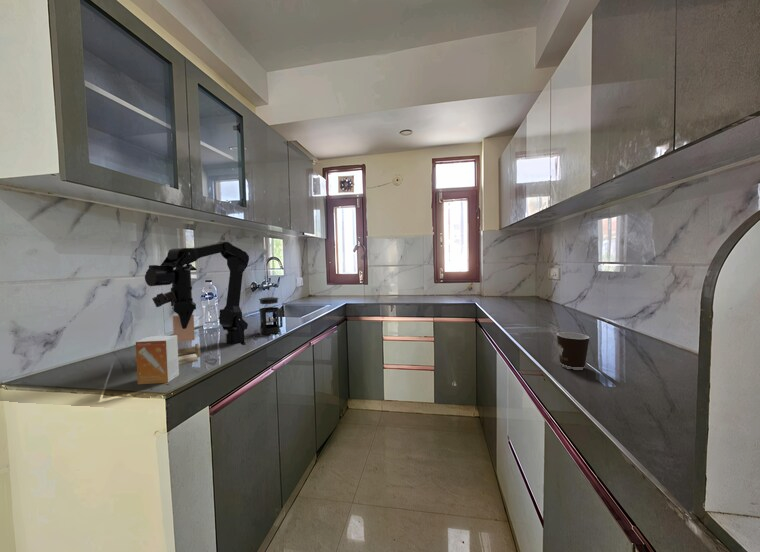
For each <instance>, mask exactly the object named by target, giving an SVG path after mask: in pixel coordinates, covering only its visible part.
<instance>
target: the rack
mask: <svg viewBox="0 0 760 552" xmlns="http://www.w3.org/2000/svg"><path fill="white" fill-rule="evenodd" d="M190 354H196V355H197V356H198V358H201V356H202V355H201V347H200V345H199V343H195V344H194V346H193V345H192V346H188V347H187V346H186V347H182V348H178V356H184V355H190Z"/></svg>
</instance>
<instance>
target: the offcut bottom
mask: <svg viewBox="0 0 760 552" xmlns="http://www.w3.org/2000/svg"><path fill="white" fill-rule="evenodd" d="M197 362H198V361H193V362H188V363H183V364H179V366H180V365H185V364H192V363H197Z"/></svg>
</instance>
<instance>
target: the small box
mask: <svg viewBox="0 0 760 552" xmlns="http://www.w3.org/2000/svg"><path fill="white" fill-rule="evenodd" d="M178 343H179V342H177V335H174V334H173V335H154V336H146V337H144V338H141V339H139V340H137V341H135V355H136V356H135V357H136V375H137V377H136V378H137V385H147V384H148V385H150V384H151V385H152V384H164V383H165V386H169V385H170V383H169V382H171V381H172V380H173V379H175V378H177V377H178V376H180V365H179V363H178V357H179V355H178V349H179V346H178V345H179V344H178ZM167 383H168V384H167Z"/></svg>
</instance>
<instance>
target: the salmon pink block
mask: <svg viewBox="0 0 760 552" xmlns="http://www.w3.org/2000/svg"><path fill="white" fill-rule="evenodd" d="M194 317H195V316H194V314H193V313H192V316H191V318H190V320H189V323H188V325H187V328H186V329H183V328H182V325H181V322H180V318H179V315H178V314H177V315H172V327H173V328H172V330H173V331H172V332H173V335H177V343H183V342H189V341H195V339H196V338H195V318H194Z"/></svg>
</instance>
